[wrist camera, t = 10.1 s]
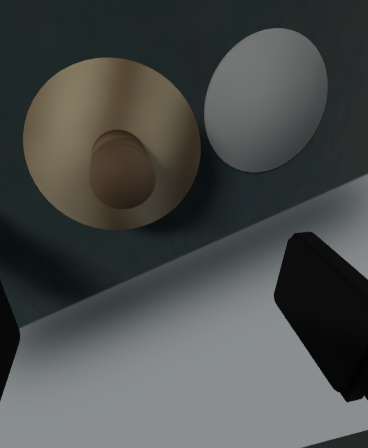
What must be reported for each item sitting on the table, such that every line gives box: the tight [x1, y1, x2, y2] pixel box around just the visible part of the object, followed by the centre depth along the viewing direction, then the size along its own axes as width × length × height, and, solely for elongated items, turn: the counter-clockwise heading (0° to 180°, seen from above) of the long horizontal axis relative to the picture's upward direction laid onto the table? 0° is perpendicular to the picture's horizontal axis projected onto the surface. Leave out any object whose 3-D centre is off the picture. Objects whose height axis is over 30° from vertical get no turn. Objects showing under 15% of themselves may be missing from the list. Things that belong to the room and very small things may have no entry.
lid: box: [23, 58, 201, 230], centre depth 20 cm, size 13×13×6 cm
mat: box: [204, 28, 327, 172], centre depth 30 cm, size 14×14×1 cm
